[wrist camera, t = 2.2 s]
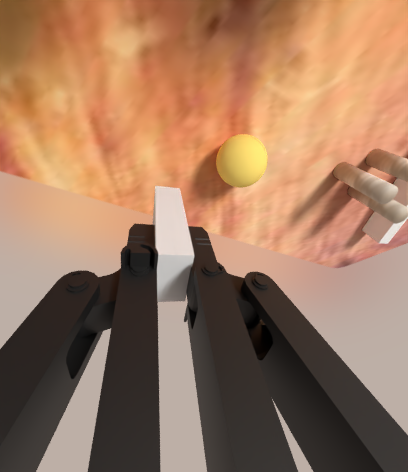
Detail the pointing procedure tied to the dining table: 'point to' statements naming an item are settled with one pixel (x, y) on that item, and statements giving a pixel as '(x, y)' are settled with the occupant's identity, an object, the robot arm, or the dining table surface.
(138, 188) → the dining table surface
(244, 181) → the ball
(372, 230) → the wall
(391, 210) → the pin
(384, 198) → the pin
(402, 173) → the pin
